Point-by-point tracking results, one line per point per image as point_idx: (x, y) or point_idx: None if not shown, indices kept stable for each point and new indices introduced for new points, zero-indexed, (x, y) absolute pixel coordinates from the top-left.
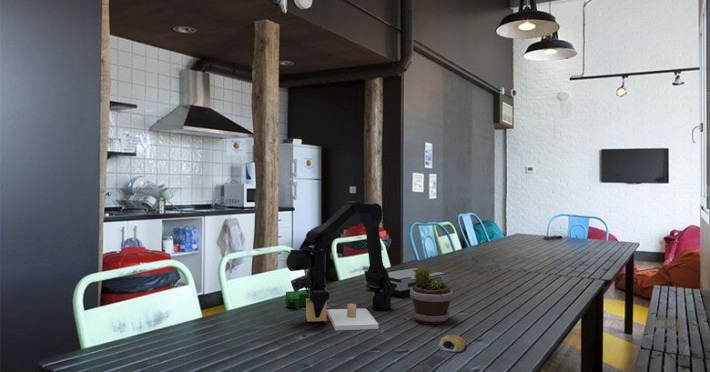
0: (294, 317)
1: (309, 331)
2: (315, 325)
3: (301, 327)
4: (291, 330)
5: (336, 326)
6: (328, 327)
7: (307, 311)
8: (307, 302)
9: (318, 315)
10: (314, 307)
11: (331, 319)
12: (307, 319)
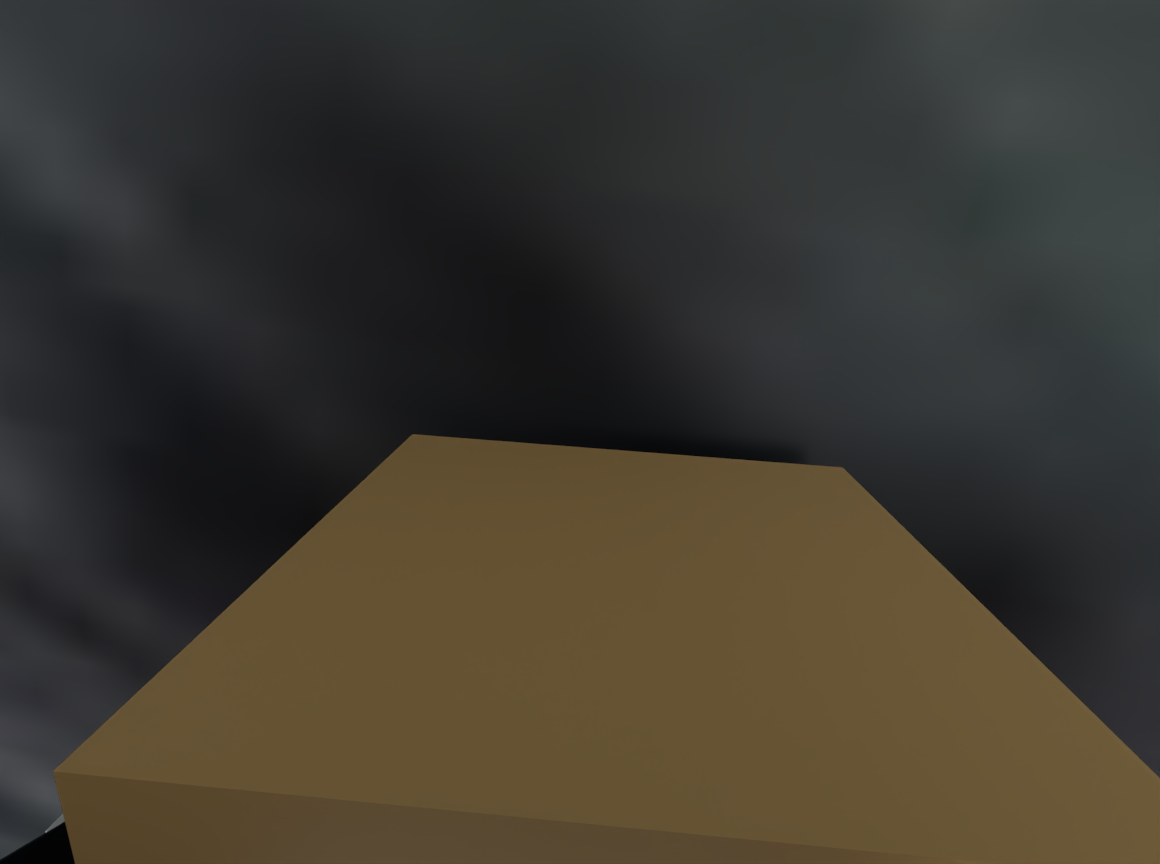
0: (1123, 221)
1: (45, 384)
2: None
3: (302, 272)
4: (89, 15)
5: None
6: None
7: (377, 533)
8: (258, 783)
9: None
10: (47, 842)
11: None
12: (414, 448)
